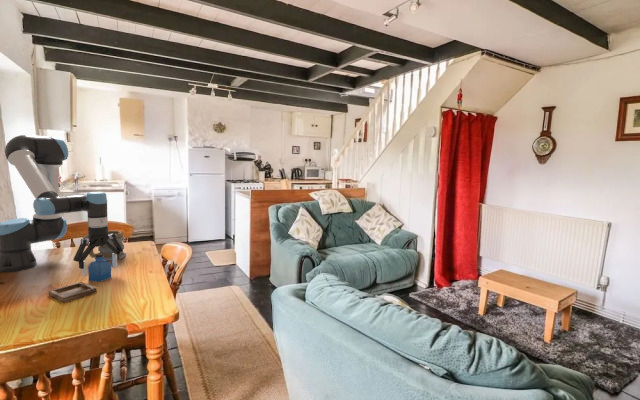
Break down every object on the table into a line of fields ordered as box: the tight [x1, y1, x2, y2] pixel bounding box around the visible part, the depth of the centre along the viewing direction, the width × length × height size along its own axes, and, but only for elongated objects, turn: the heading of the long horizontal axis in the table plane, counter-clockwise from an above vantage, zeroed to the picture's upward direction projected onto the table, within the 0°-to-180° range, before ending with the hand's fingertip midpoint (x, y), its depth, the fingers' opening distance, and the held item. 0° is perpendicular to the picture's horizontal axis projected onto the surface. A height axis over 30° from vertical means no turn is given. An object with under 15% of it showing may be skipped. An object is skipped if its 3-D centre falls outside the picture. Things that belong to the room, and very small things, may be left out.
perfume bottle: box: [87, 252, 112, 283], centre depth 153 cm, size 6×6×12 cm
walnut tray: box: [48, 281, 98, 304], centre depth 137 cm, size 12×12×2 cm
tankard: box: [81, 230, 127, 262], centre depth 180 cm, size 20×13×15 cm, turn 144°
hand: (100, 271), depth 153 cm, fingers open, 13 cm apart
